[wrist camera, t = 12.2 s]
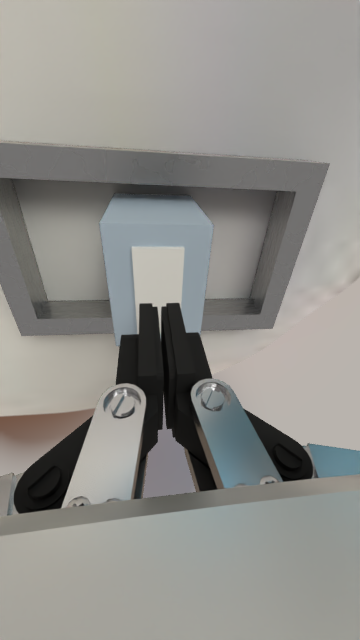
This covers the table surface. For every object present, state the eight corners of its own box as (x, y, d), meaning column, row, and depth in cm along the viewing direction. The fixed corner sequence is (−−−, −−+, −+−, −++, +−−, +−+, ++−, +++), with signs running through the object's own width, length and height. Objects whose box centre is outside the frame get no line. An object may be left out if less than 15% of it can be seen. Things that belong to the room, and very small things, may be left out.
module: (190, 195, 17) (215, 226, 11) (184, 287, 21) (200, 345, 15) (114, 193, 16) (98, 225, 10) (123, 288, 20) (115, 349, 15)
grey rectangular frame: (306, 160, 16) (329, 163, 14) (261, 312, 23) (272, 328, 21) (-29, 138, 14) (-59, 139, 12) (33, 316, 21) (21, 335, 19)
